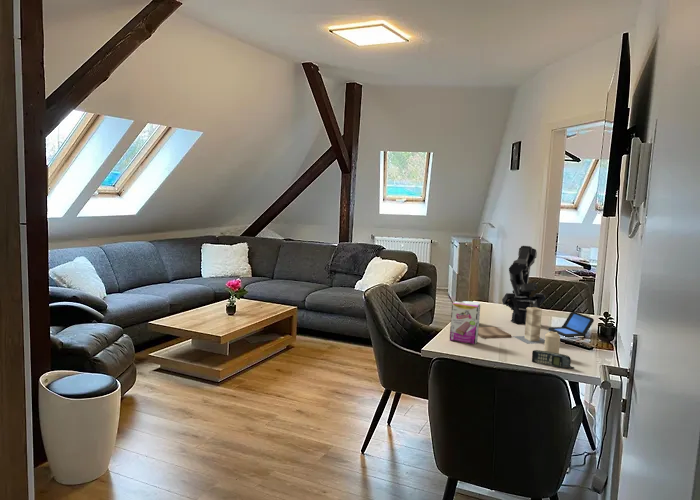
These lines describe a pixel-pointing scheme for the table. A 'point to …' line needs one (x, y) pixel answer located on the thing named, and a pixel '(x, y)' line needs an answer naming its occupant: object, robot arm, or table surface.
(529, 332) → the birch block
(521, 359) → the table surface
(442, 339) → the table surface
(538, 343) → the gray mat
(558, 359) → the mobile phone
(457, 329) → the candy bar box
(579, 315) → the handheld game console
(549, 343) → the candle
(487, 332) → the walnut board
